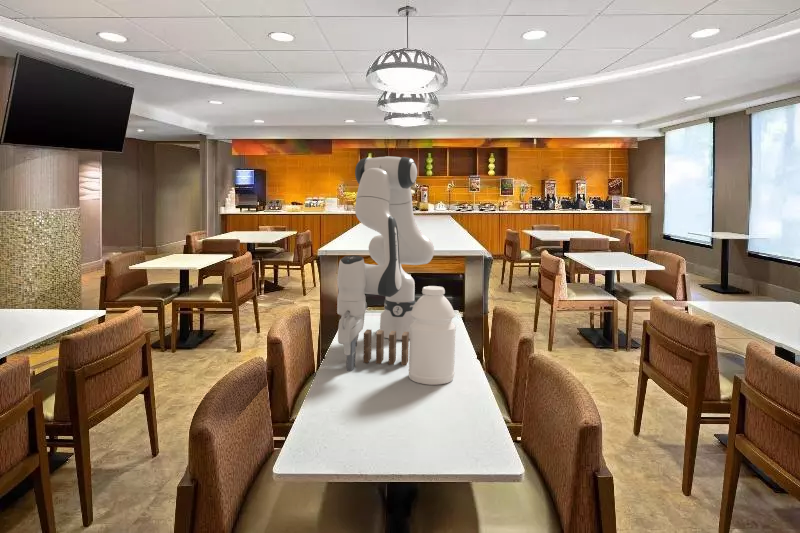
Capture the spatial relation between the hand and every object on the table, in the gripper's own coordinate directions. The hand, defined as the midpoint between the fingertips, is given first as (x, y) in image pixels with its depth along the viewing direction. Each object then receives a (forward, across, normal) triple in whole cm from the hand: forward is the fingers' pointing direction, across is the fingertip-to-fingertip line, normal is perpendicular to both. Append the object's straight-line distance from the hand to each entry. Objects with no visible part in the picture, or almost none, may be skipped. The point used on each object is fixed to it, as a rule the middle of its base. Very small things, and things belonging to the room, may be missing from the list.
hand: (351, 350), depth 185 cm
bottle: (+6, -4, -26) cm, 27 cm away
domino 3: (+6, +9, -12) cm, 16 cm away
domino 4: (+6, +9, -16) cm, 19 cm away
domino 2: (+6, +9, -8) cm, 13 cm away
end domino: (+6, 0, 0) cm, 6 cm away
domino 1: (+6, +9, -3) cm, 11 cm away
